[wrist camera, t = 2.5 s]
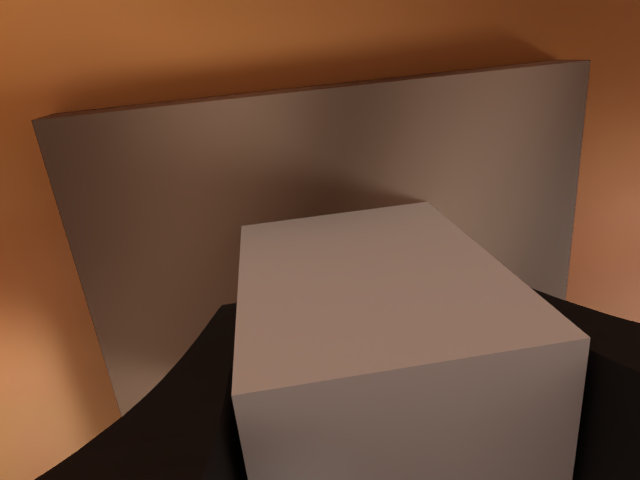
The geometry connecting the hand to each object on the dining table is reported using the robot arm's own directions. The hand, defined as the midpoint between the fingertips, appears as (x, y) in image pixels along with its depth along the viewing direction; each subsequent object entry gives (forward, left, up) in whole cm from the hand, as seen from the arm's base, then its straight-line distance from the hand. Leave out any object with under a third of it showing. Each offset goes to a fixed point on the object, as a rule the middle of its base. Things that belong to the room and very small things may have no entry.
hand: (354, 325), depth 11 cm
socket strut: (0, 0, -1) cm, 1 cm away
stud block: (0, 0, -3) cm, 3 cm away
